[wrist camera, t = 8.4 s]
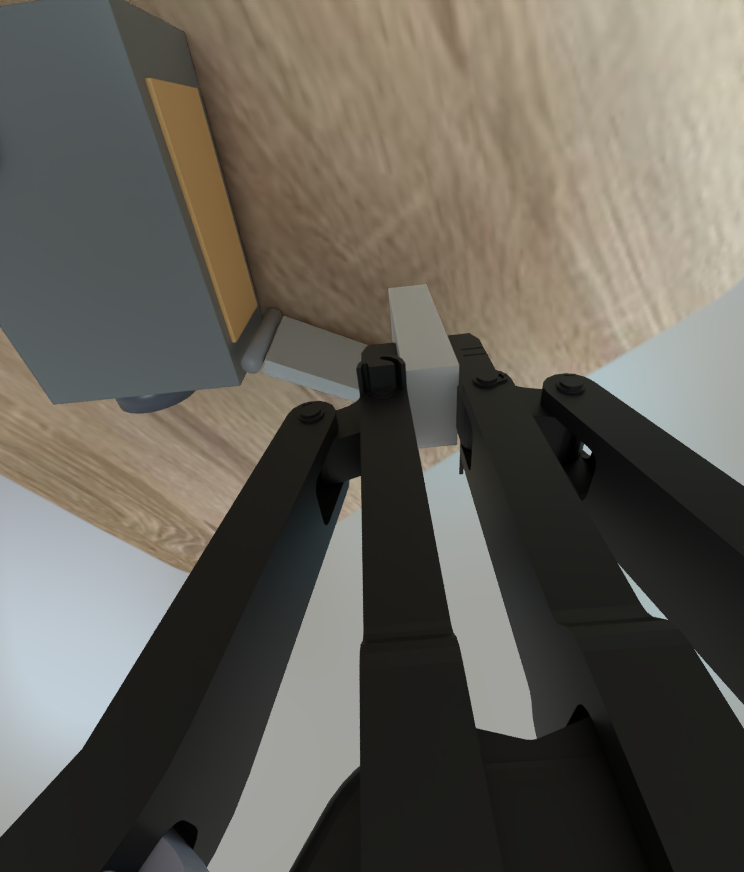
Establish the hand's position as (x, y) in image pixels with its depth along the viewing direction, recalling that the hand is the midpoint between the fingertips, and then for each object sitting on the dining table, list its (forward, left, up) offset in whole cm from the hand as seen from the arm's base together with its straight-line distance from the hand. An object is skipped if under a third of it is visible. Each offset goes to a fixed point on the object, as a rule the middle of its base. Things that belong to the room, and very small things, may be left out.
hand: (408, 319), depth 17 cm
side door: (+5, -2, -9) cm, 11 cm away
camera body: (-4, -14, -9) cm, 17 cm away
